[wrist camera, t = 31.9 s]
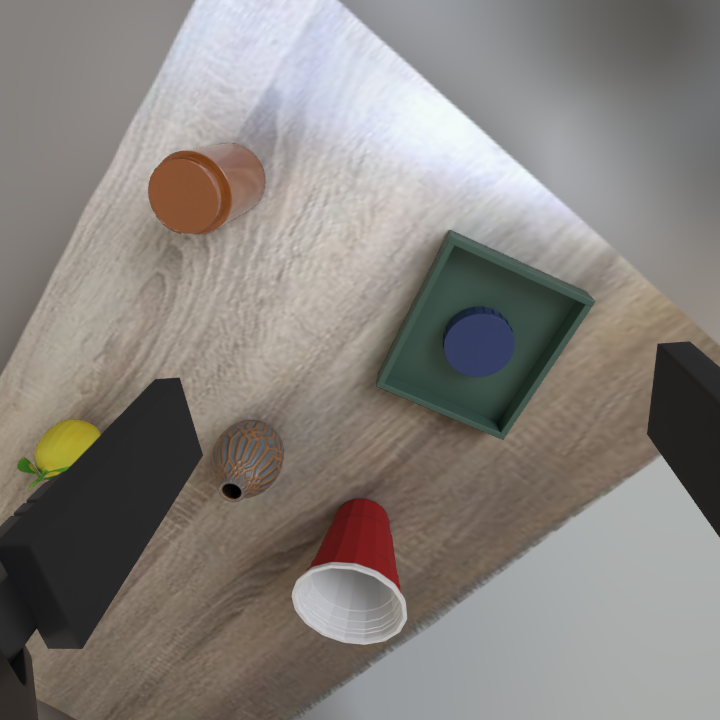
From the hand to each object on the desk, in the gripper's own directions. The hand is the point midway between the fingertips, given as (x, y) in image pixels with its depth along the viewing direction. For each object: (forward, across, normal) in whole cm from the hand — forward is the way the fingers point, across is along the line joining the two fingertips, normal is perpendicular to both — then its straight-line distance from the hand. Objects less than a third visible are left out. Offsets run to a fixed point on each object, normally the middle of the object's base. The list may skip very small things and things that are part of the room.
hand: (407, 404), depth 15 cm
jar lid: (+31, +5, -12) cm, 33 cm away
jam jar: (+33, -15, +4) cm, 36 cm away
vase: (+33, -18, -22) cm, 43 cm away
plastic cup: (+33, -9, -33) cm, 47 cm away
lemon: (+33, -37, -19) cm, 53 cm away
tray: (+33, +5, -12) cm, 35 cm away
